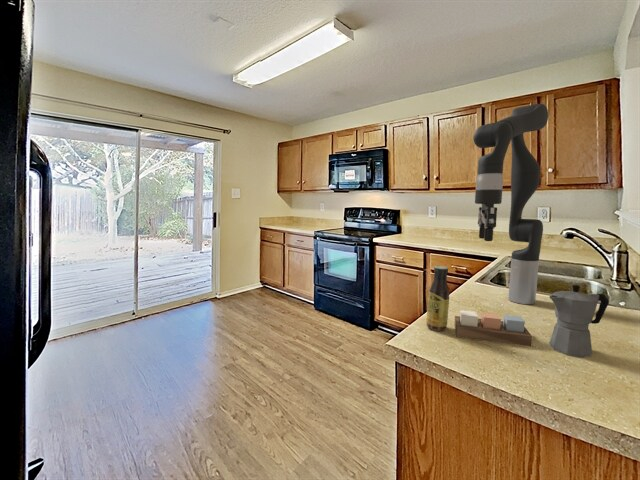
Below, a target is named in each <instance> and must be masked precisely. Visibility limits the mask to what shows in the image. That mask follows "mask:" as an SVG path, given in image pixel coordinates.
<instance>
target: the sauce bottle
mask: <svg viewBox="0 0 640 480" xmlns="http://www.w3.org/2000/svg"><path fill="white" fill-rule="evenodd" d="M433 272H434V273H433V281H432V282H431V285H430V287H429V290H428V295H427V306H426V327H427V328H428V329H429V330H433V331H435V332H443V331H445V330H447V325H448V319H449V308H450V307H449V306H450V290H451V289H450V287H449V285H448V282H447V281H448V280H447V277H448V272H449V267H447V266H443V265H436V266H434V268H433Z"/></svg>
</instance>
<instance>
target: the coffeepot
mask: <svg viewBox="0 0 640 480" xmlns="http://www.w3.org/2000/svg"><path fill="white" fill-rule="evenodd" d="M571 286H572V290H559V291H555V292H553V294H551V295H549V299H550V300H551V301H552V302H553V304H554V311H555V312H554V313H555V317H556V323H555V324H554V327H553V330H552V332H551V337H550V340H549V342H548V343H549V345H550V347H551V349H553V350H554V351H556V352H559V353H561V354H562V355H567V356H571V357H576V358H587V357H590V356H591V355H593V348H592V347H593V346H592V340H591V330H590V329H589V326H590V324H592V325H593V324H594V325H595V324H599V323H600V322H601V320H602V318H603V316H604V314H605V312H606V310H607V307H608V306H609V305H610V304H609V303H610V299H608V297H607V296H606V295H605V294H603V293H589V294H587V293H584V292H580V288H581V286H580V285H578V284H573V285H571ZM599 301H600V303H599ZM598 303H599V306H598V310H597V311H596V309H597V305H598ZM595 312H596V313H595ZM594 315H595V318H594ZM593 318H594V319H593Z"/></svg>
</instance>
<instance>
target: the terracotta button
mask: <svg viewBox="0 0 640 480" xmlns="http://www.w3.org/2000/svg"><path fill="white" fill-rule="evenodd" d="M480 319H481V326H482V327H483V328H492V329H500V325H501V321H502V318H501V317H500V315H499V314H498V313H490V312H481V318H480Z"/></svg>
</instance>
